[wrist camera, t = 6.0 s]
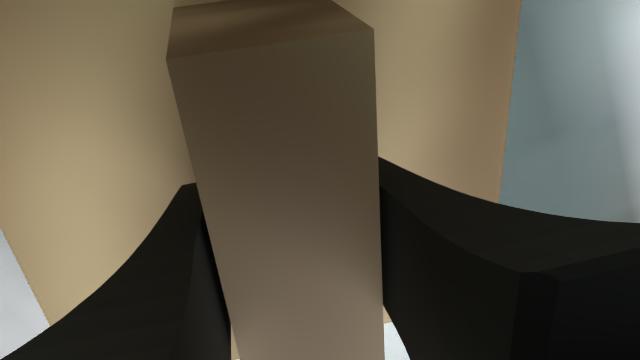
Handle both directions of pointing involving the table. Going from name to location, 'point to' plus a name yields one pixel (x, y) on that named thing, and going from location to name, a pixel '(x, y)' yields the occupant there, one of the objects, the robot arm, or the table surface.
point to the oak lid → (245, 144)
